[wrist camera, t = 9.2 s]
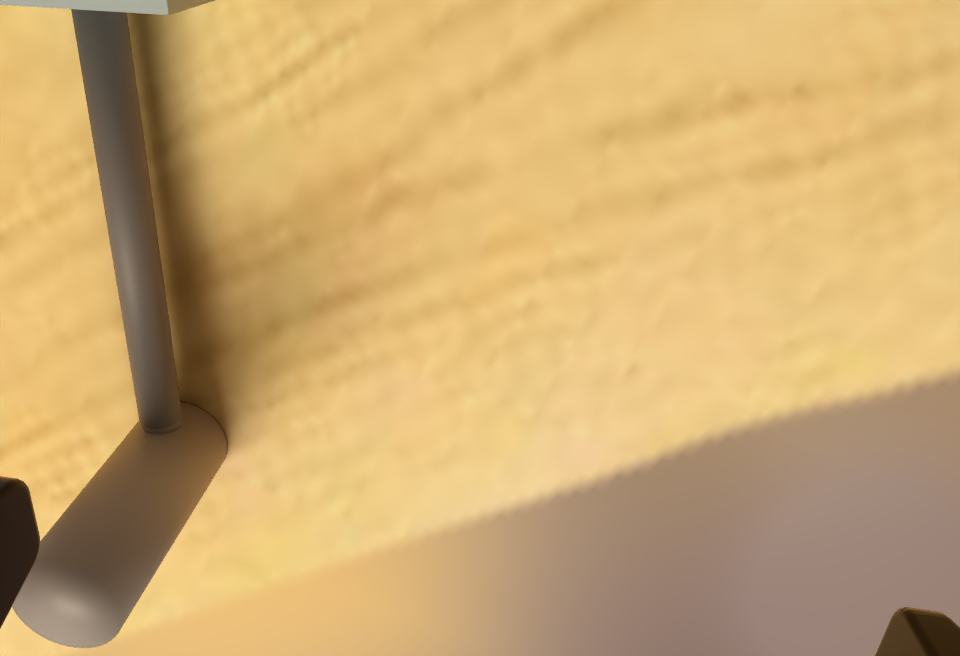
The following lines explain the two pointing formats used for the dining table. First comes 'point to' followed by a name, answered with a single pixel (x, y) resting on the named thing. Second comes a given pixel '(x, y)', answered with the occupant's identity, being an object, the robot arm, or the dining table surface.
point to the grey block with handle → (162, 417)
